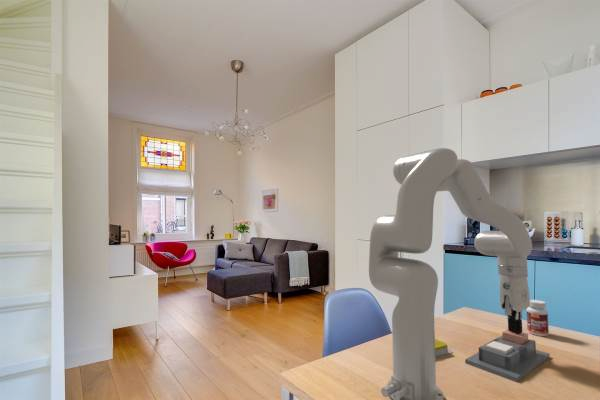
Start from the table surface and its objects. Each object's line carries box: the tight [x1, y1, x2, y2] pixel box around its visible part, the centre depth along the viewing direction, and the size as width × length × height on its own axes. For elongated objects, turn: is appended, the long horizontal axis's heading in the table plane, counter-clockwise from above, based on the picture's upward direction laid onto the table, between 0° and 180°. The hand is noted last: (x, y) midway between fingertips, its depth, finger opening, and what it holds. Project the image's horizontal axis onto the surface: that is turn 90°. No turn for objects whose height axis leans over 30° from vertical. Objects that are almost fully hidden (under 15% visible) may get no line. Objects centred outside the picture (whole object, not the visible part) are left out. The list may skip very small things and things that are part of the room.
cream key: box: [486, 341, 513, 355], centre depth 89 cm, size 5×5×3 cm
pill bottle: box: [526, 299, 550, 337], centre depth 113 cm, size 6×6×11 cm
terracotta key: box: [501, 329, 529, 345], centre depth 96 cm, size 5×5×3 cm
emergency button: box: [435, 338, 454, 359], centre depth 98 cm, size 9×4×15 cm
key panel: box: [464, 334, 550, 383], centre depth 92 cm, size 24×13×4 cm, turn 126°
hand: (515, 331), depth 96 cm, fingers closed
